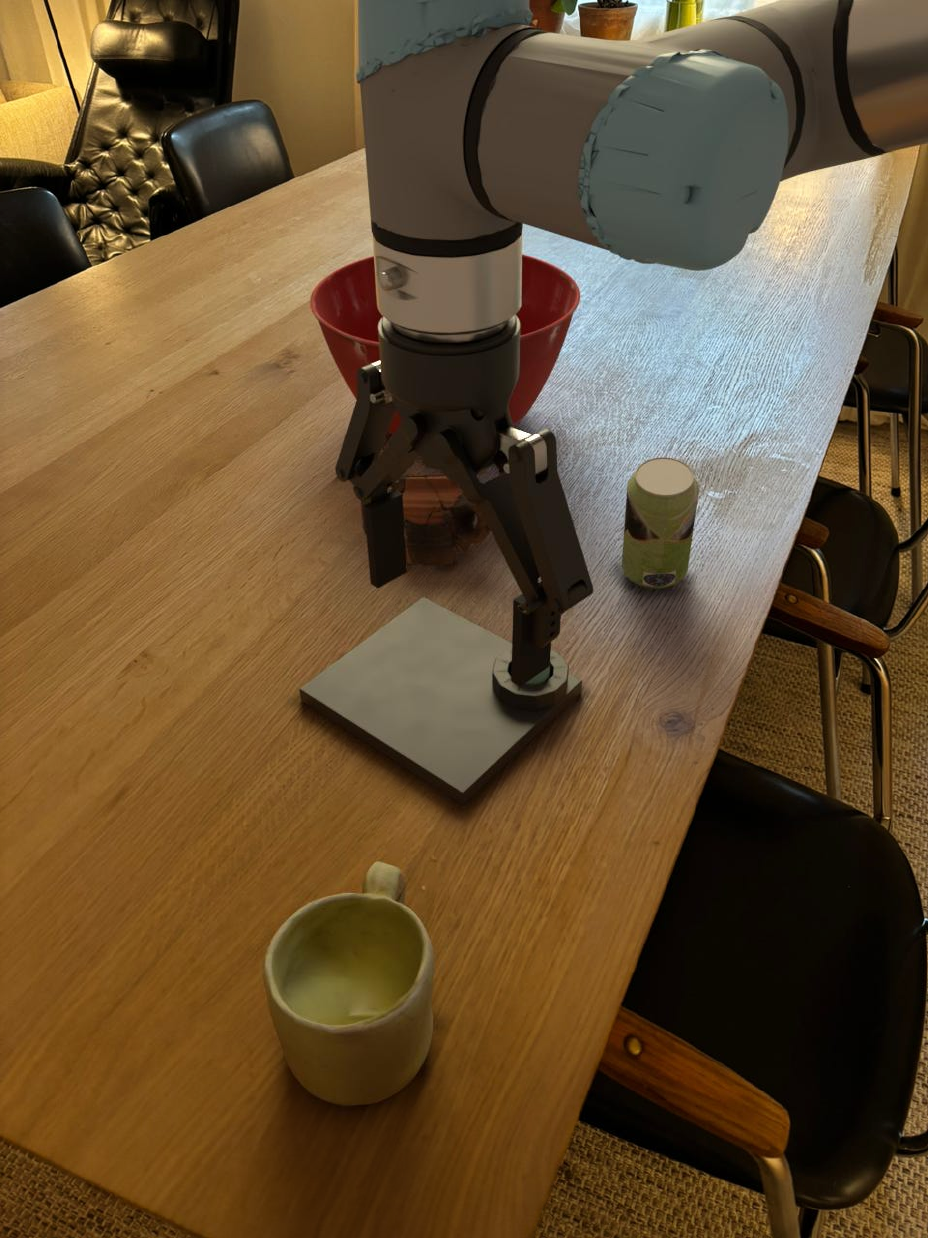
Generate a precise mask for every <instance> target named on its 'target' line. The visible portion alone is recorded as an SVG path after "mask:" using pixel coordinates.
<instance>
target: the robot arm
mask: <svg viewBox="0 0 928 1238" xmlns="http://www.w3.org/2000/svg"><path fill="white" fill-rule="evenodd" d="M533 17H534V14H533V12H532V11H531V9H530V0H357V48H358V49H357V50H358V51H357V52H358V53H357V56H358V57H357V61H358V69H357V71H356V74H355V79H356V84H358V85H359V91H360V103H361V114H362V115H361V116H362V127H363V128H362V129H363V140H364V141H363V142H364V151H365V152H364V153H365V163H366V164H365V165H366V177H367V178H366V179H367V187H368V200H369V214H370V216H369V217H370V228H371V233H372V245H373V256H374V264H375V280H376V297H377V307H378V310H379V312H380V313H381V315H382V316H383V317H382V318H381V319H380V321H379V324H378V336H379V351H380V360H378V361H376V362H374V363H371V364H369V365H366V366H364V367H362V368H359V369H358V371H357V400H356V401H355V404H354V407H353V410H352V413H351V417H350V420H349V423H348V426H347V429H346V431H345V435H344V439H343V442H342V445H341V447H340V448H341V449H340V451H339V454H338V458H337V461H336V464H335V469H334V471H335V474H336V477H337V478H338V480H340V482H342V483H347V482H348V481H349V482H350V483H351V485H353V487H352V488H353V493H354V495H355V497H356V498H357V499H358V500H359V501H360V511H361V520H362V529H363V531H364V535H365V536H366V537H365V538H366V546H367V556H368V557H367V559H368V569H369V579H370V585H371V586H373V587H374V588H376V589H377V590H378V589H380V588H382V587H384V586H385V585H387V584H389V583H390V582H393V581H394V580H396V579H398V578H399V577H401V576H403V575H405V574H407V573H408V564H407V560H406V544H405V539H406V531H405V527H404V511H403V495H402V493H400V492H398V491H396V490H393V491H391V492H389V493H388V491H389V490H388V489H391V487H392V486H394V485H396V484H398V483H400V481H398V479H399V478H400V477H401V476H404V475H405V473H406V472H407V471H408V470H409V469H410V468H411V467H412V466H413V465H414V464H415V463H416V462H417V461H418V460H419V459H421V465H423V466H425V467H427V468H429V469H431V470H436V471H440V473H442V475H445V476H446V477H448V478H449V479H450V480H452V481H454V482H456V483H458V484H459V486H460V488H461V490H462V492H463V494H464V496H465V497H466V499H467V501H468V502H470V503H473V504H476V505H477V506H478V507H479V509H480V511H481V513H482V515H483V517H484V519H485V521H486V523H487V525H488V527H489V529H490V533H491V534H492V537H493V539H494V541H495V544H497V547H498V548H499V550H500V552H501V554H502V557H503V559H504V561H505V562H506V564H507V566H508V568H509V570H510V573H511V574H512V577H513V578H514V580H515V582H516V584H517V586H518V588H519V590H520V592H521V594H520V595H518V596H516V597H514V598H513V599H512V600H513V601H512V631H511V632H512V633H511V635H512V636H511V637H512V639H511V643H512V669H511V681H512V682H513V683H515V684H516V685H517V686H519V687H521V686H522V685H524V684H525V683H527V682H528V681H530V680H531V679H532V678H534V677H535V676H537V675H538V674H540V673H541V672H542V671H544V670H545V669H547V668H548V667H549V666H550V655H551V650H552V642H553V641H554V640H556V639H557V638H558V637H559V635H560V633H561V623H562V615H563V614H565V613H567V611H569V610H570V609H572V608H573V607H575V606H577V605H578V604H580V603H581V602H583V601H584V600H585V599H587V598H588V597H590V596H591V595H592V594H593V593H594V585H593V582H592V579H591V575H590V573H589V569H588V566H587V562H586V559H585V556H584V553H583V550H582V547H581V543H580V540H579V536H578V533H577V530H576V527H575V524H574V520H573V517H572V514H571V511H570V507H569V504H568V500H567V498H566V497H567V496H566V494H565V490H564V487H563V485H562V480H561V477H560V475H559V472H558V451H557V438H556V436H555V434H554V433H553V431H551V430H550V429H548V428H543V429H541V430H539V431H537V432H535V433H533V434H531V433H528V432H526V431H523V430H521V429H517V428H515V426H513V423H512V420H511V417H510V413H509V408H508V405H509V400H510V398H511V395H512V393H513V390H514V388H515V386H516V384H517V381H518V378H519V361H520V321H519V318H518V317H517V316H516V313H518V311H519V309H520V308H521V295H522V254H523V228H524V227H523V226H524V225H526V226H529V227H532V228H535V229H539V230H542V231H545V232H548V233H552V234H554V235H558V236H561V237H564V238H567V239H571V240H574V241H577V242H581V243H583V244H586V245H589V246H592V247H596V248H599V249H602V250H606V251H609V252H610V253H611V254H613V255H616V256H619V257H620V258H621V259H623V260H627V261H634V262H635V263H636V262H637V263H640V264H641V265H643V264H644V265H645V264H647V265H654V264H657V265H662V266H665V267H666V266H667V267H672V268H677V269H682V270H687V271H695V272H701V271H702V272H703V271H708V270H713V269H717V268H719V267H722V266H723V265H725V264H727V263H728V262H730V261H731V260H733V259H734V258H735V257H736V256H738V255H739V254H740V253H741V252H742V251H743V249H744V248H745V246H746V244H747V241H748V238H749V235H752V234H754V233H756V232H757V231H759V229H760V227H761V226H762V224H763V223H764V221H765V220H766V217H767V216H768V213H769V211H770V209H771V207H772V204H773V202H774V200H775V197H776V194H777V192H778V189H779V187H780V184H781V182H784V181H786V180H788V179H792V178H794V177H798V176H801V175H804V174H807V173H810V172H816V171H820V170H824V169H828V168H832V167H837V166H841V165H846V164H851V163H855V162H860V161H864V160H867V159H871V158H875V157H879V156H883V155H885V154H888V153H889V154H890V153H892V152H895V151H899V150H904V149H908V148H913V147H919V146H922V145H927V144H928V0H776V1H772V2H770V3H767V4H764V5H760V6H758V7H754V8H751V9H747V10H745V11H741V12H738V13H735V14H731V15H728V16H723V17H718V18H714V19H711V20H708V21H704V22H700V23H696V24H692V25H688V26H683V27H680V28H676V29H673V30H668V31H665V32H662V33H657V34H654V35H650V36H647V37H643V38H639V39H632V40H631V39H630V40H613V39H612V40H611V39H610V40H609V39H604V38H603V39H602V38H595V37H589V36H587V37H586V36H580V35H571V34H563V33H557V32H554V31H550V30H544V29H542V28H539V27H538V26H531V25H532V24H533V22H532V21H533V20H532V19H533ZM395 410H397V412H398V414H399V416H400V419H401V421H402V422H401V424H400V425H399V426H400V427H399V428H398V430H397V431H396V432H395V433H394V434H393V435H392V434H391V435H392V436H390V438H388V440H387V441H386V442H385V439H386V438H387V434H388V433H389V432H388V429H389V426H390V424H391V421H392V418H393V416H394V413H395ZM384 442H385V444H386V447H385V448H384V449H383V450H382V448H383V445H384ZM494 465H495V466H496V468H497V471H498V474H497V476H495V477H492V478H491V479H489V480H488V481H485V482H481V481H480V479H479V477H480V476H482V475H484V474H485V473H488V472H489V470H490V469H491V468H492V467H493V466H494ZM539 579H540V581H539Z"/></svg>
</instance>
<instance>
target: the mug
mask: <svg viewBox="0 0 928 1238" xmlns="http://www.w3.org/2000/svg"><path fill="white" fill-rule="evenodd" d="M406 897H407V881H406V878H405V876H404V874H403V872H402V870H401V869H400V868H399V867H397V866H395V865H392V864H389V863H386V862H383V861H379V860H378V861H377V860H376V861H374V862H373V864H372V865H371V866H370V867H369V868H368V870H367V871H366V873H365V876H364V878H363V880H362V886H361V893H354V892H342V893H337V894H332V895H328V896H324V897H321V898H319V899H318V898H317V899H315V900H312V901H310V902H308V903H306V904H305V905H303V906H301V907H300V908H298V909H297V910H296V911H295V912H293V913H292V914H291V915H290V916H289V917H288V918H287V919H286V920H285V921H284V922H283V923H282V924H281V925H280V926H279V927H278V928H277V930H276V931H275V933H274V934H273V937H272V938H271V940H270V941H269V942H268V945H267V948H266V950H265V954H264V957H263V966H262V969H263V970H262V977H263V978H262V979H263V984H264V989H265V993H266V999H267V1006H268V1011H269V1015H270V1017H271V1018H270V1019H271V1020H272V1024H273V1026H274V1029H275V1032H276V1035H277V1038H278V1041H279V1044H280V1046H281V1049H282V1052H283V1056H284V1059H285V1061H286V1064H287V1066H288V1067H289V1070H290V1071H291V1073H292V1074H293V1076H294V1077H295V1079H296V1080H297V1081H298V1083H300V1085H301V1086H302V1087H303V1088H304V1089H305V1090H306V1091H307V1092H308V1093H310V1094H311V1095H313V1096H315V1097H316V1098H318V1099H320V1100H321V1101H324V1102H327V1103H330V1104H334V1105H336V1106H342V1107H354V1106H362V1105H364V1106H365V1105H372V1104H377V1103H380V1102H382V1101H384V1100H386V1099H388V1098H390V1097H392V1096H394V1095H396V1094H398V1093H399V1092H400V1091H401V1090H403V1089H404V1088H405V1087H407V1086H408V1085H409V1084H410V1083H411V1082H412V1081H413V1080H414V1079H415V1077H416V1075H417V1074H418V1072H419V1071H420V1069H421V1067H422V1066H423V1064H424V1063H425V1061H426V1058H427V1056H428V1053H429V1051H430V1048H431V1044H432V1041H433V1034H434V1013H433V1005H432V1002H433V1001H432V1000H433V992H434V991H433V990H434V980H435V979H434V978H435V956H434V948H433V943H432V941H431V938H430V935H429V933H428V932H427V929H426V928H425V927H426V926H425V925H424V924H423V922H422V920H421V919H420V918H419V916H417V914H416V913H415V912H414V911H413V910H412V909H410V908H409V907H408V906H406V905H407V904H406Z"/></svg>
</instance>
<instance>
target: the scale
mask: <svg viewBox="0 0 928 1238" xmlns="http://www.w3.org/2000/svg"><path fill="white" fill-rule="evenodd" d="M511 669H512V641H508V640H507V639H505V638H503V637H501V636H499V635H497V634H495V633H493V632H491V631H489V630H487V629H486V628H485V627H482V626H480V625H478V624H476V623H474V622H472V621H470V620H469V619H467V618H465V617H463V616H461V615H459V614H457V613H455V612H454V611H452V610H450V609H448V608H446V607H444V606H442V605H440V604H438V603H436V602H434V601H432V600H431V599H429V598H427V597H425V596H423V597H421V598H419V599H418V600H417V601H416V602H414V603H413V604H412V605H410V606H409V607H408V608H406V609H404V610H403V611H402V612H401V613H400V614H398V615H397V616H395V617H394V618H392V619H391V620H390V621H388V622H386V624H384V625H382V627H380V628H379V629H378V630H377V631H374V633H373V634H371V635H370V636H368V637H367V638H365V639H364V640H363V641H362V642H359V644H357V645H356V646H355V647H354V648H352V649H350V650H349V651H348V652H346V653H345V654H344V655H343V656H341V657H340V658H338V659H337V660H335V661H334V662H333V663H331V664H330V665H329V666H327V667H326V668H325V669H324V670H322V671H321V672H319V673H318V674H316V676H314V677H313V678H311V679H310V680H309V681H307V682H306V683H304V685H302V686H301V687H299V688H298V691H299V696H300V702H302V703H303V704H305V705H307V706H308V707H310V708H311V709H313V710H314V711H316V712H318V713H319V714H321V716H324V717H325V718H327V719H328V720H329V721H331V722H333V723H334V724H336V725H338V726H339V727H340V728H343V729H344V730H345V731H347V732H348V733H350V734H351V735H353V736H355V737H356V738H358V739H359V740H361V741H362V742H364V743H365V744H366V745H369V746H370V747H372V748H373V749H375V750H376V751H378V752H379V753H380V754H382V755H384V756H385V757H387V758H389V759H390V760H391V761H393V762H395V763H397V764H398V765H399V766H401V767H403V768H404V769H405V770H407V771H408V772H410V773H412V774H413V775H415V776H416V777H418V778H419V779H420V780H423V781H424V782H426V783H427V784H429V785H430V786H431V787H433V788H435V789H437V790H438V791H439V792H441V793H443V794H444V795H446V796H447V797H449V798H450V799H452V800H454V801H455V802H456V803H458V804H460V805H461V806H464V805H465V804H467V802H469V801H470V800H471V799H472V798H473V797H474V796H475V795H476V794H477V793H478V792H480V790H481V789H483V787H485V785H487V784H488V783H489V782H490V780H492V779H493V778H494V777H495V776H496V775H497V774H498V773H499V772H500V771H501V770H503V768H504V767H505V766H506V765H507V764H509V762H510V761H512V759H514V757H516V756H517V755H518V754H519V753H520V752H521V751H522V750H523V749H524V748H525V747H526V746H527V745H528V744H530V742H531V741H533V739H535V737H536V736H538V735H539V734H540V733H541V732H542V731H543V730H544V729H545V728H546V727H547V726H548V725H549V724H550V723H551V722H552V721H553V720H554V719H556V717H557V716H558V715H559V714H560V713H562V711H564V710H565V709H566V707H568V706H569V705H570V704H571V703H572V702H573V701H574V700H575V699H576V698H578V696H580V695H581V694H582V688H583V680H582V679H581V678H579V677H577V676H575V675H574V674H571V673H570V672H569V671H570V667H569V665H568V662H566V660H565V659H564V657H563V656H562V654H560V653H559V652H557V651H555V650H553V649H551V655H550V674H549V677H548V679H547V680H546V681H545V682H543V683H541V684H538V685H525V684H524V685H522V686H521V687H519V686H517V685H516V684H515V683H513V682H512V681H511Z"/></svg>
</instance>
